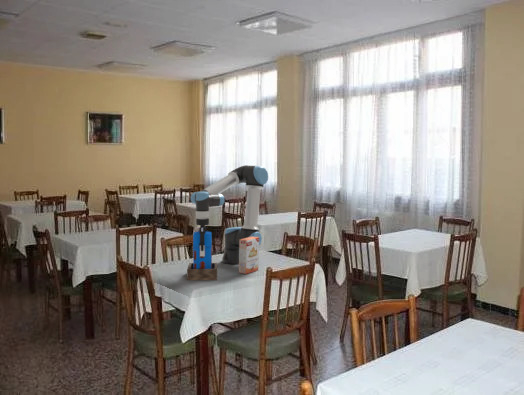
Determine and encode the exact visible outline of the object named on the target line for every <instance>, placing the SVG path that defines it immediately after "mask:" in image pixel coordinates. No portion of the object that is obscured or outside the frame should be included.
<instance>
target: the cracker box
mask: <svg viewBox="0 0 524 395" xmlns="http://www.w3.org/2000/svg"><path fill="white" fill-rule="evenodd" d="M259 257H260V246H259V237H248V238H244V239H240V240H239V264H238V273H239V274H243V275H248V274H250V273H253V272H256V271H259V263H260V262H259V259H260V258H259Z"/></svg>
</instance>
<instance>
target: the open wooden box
mask: <svg viewBox="0 0 524 395" xmlns="http://www.w3.org/2000/svg"><path fill="white" fill-rule="evenodd" d="M186 280H187V281H199V280H200V281H207V280H208V281H210V280H214V281H215V280H216V281H217V280H218V263H217V262H212V269H193V262H189V263H188V265H187V270H186Z"/></svg>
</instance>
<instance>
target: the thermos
mask: <svg viewBox="0 0 524 395" xmlns="http://www.w3.org/2000/svg"><path fill="white" fill-rule="evenodd" d="M199 232H200V231H199V230H198V231H194V232H193V235H192V236H193V237H192V241H193V242H192V243H193V244H192V245H193V246H192V251H193V252H192V254H193V256H192V263H193V269H212V263H213V261H212V260H213V259H212V258H213V257H212V256H213V255H212V254H213V252H212V251H213V248H212V247H213V246H212V244H213V243H212V242H213V239H212V238H213V237H212V232H211V231H208V230H206V232H205V234H204V244H205V256H200V245H199V244H200V234H199Z"/></svg>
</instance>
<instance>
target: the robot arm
mask: <svg viewBox="0 0 524 395" xmlns="http://www.w3.org/2000/svg"><path fill="white" fill-rule="evenodd" d="M268 180H269V173H268V170H267V169H266V168H265V167H264V166H262V165H241V166H239V167H237V168H234V169H233V170H231V171H229V172H228V173H227V175H226V176H224V177H222V178H221V179H219V180H217V181H215V182H214V183H212V184H211V185H209V186H207V187H206V188H204V189H202V190H200V191H195V192H193V193H191V195H190V201H191V203H192V204H193V205H195V212H194V214H195V216H196V218H195V224H196V225H197V226H200V227H199V229H198V231H200V232H199V234H200V244H199V245H200V256H205V244H204V234H205V232H206V231H207V227H206V226H209V225H210V219H209V218H210V208H213V207H221V206H223V205H224V204H225V196H224V195H223V194H222V193H223V192H225V191H226V190H228V189H230V188H232V187H233V186H238V185H239V184H245V187H246V188H247V190H246V191H247V193H246V201H245V210H244V211H245V212H244V221H243V225H242V226H235V227H227V228H225V230H224V252H223V255H222V258H221V262H222V263H224V264H228V265H229V264H230V265H237V264H238V265H239V240H240V239H244V238H248V237H259V247H260V245H261V243H262V241H263V236H262V234H261V233H260V229H259V227H258V220H259V213H260V212H259V211H260V210H259V209H260V201H261V193H262V191H261V190H263V189H264V185H266V184H267V182H268Z"/></svg>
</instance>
